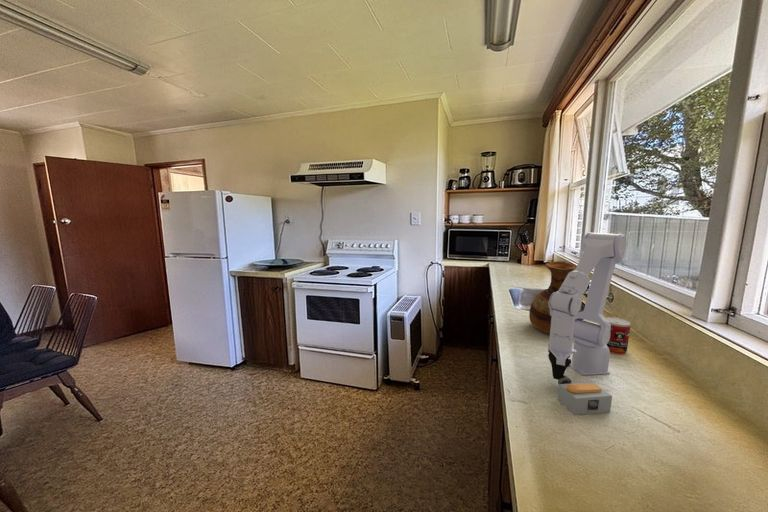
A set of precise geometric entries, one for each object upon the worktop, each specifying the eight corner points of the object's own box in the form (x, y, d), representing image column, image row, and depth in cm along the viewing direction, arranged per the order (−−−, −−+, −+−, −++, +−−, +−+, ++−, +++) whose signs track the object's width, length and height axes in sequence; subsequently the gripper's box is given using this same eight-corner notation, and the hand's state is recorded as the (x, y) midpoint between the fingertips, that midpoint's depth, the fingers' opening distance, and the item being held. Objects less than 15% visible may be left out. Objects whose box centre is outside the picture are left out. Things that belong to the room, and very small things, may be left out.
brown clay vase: (524, 332, 123) (530, 262, 119) (532, 318, 140) (537, 256, 135) (580, 344, 112) (588, 267, 108) (581, 327, 129) (588, 260, 124)
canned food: (604, 352, 106) (608, 323, 104) (598, 343, 113) (601, 316, 112) (630, 356, 103) (634, 326, 102) (622, 346, 111) (626, 318, 109)
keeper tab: (593, 386, 78) (593, 383, 78) (601, 391, 75) (601, 389, 75) (564, 387, 77) (564, 384, 77) (571, 393, 74) (571, 390, 74)
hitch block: (591, 397, 80) (593, 382, 80) (610, 412, 75) (612, 395, 74) (557, 399, 79) (558, 384, 79) (573, 415, 74) (575, 398, 73)
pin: (557, 386, 84) (558, 376, 84) (568, 386, 84) (569, 375, 84) (587, 413, 73) (589, 400, 73) (600, 411, 74) (601, 399, 73)
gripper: (580, 346, 76) (575, 394, 78) (575, 327, 89) (571, 368, 91) (549, 340, 80) (545, 386, 82) (549, 322, 92) (545, 363, 94)
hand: (557, 376), depth 86 cm, fingers closed
